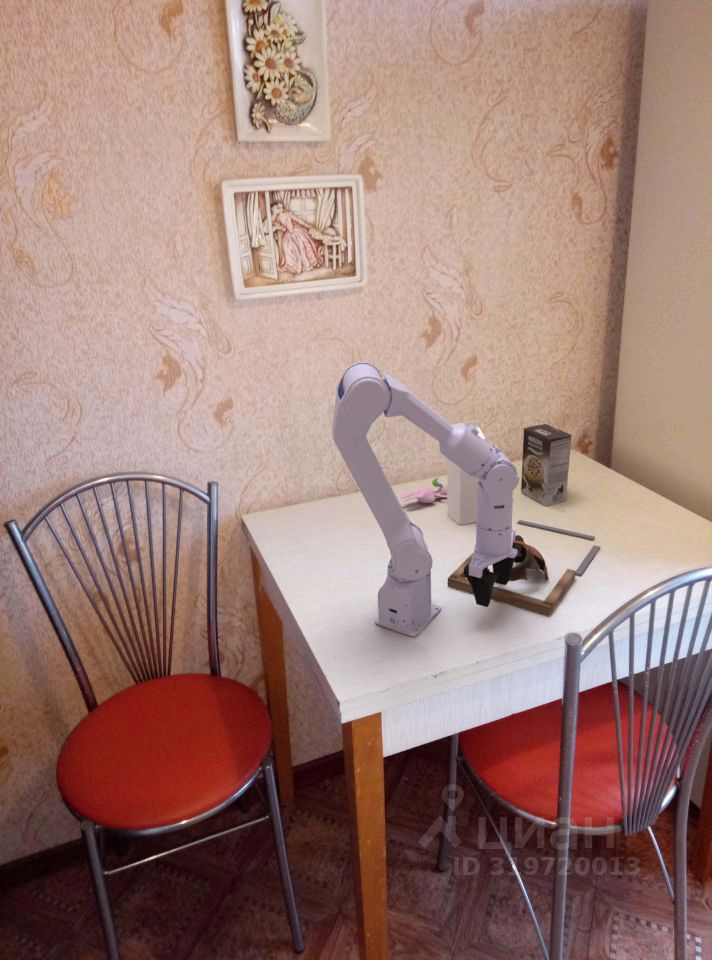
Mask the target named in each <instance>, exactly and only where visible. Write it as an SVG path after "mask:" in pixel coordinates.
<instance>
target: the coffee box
mask: <svg viewBox="0 0 712 960" xmlns="http://www.w3.org/2000/svg"><path fill="white" fill-rule="evenodd" d="M572 436H573V435H572V434H571V433H568V432H566V431H563V430H562V429H561V430H560V429H559V428H556V427H553V426H551V425H549V424H547V423H543V424H539V425H531V426H528V427H524V428H523V437H522V439H523V441H522V442H523V443H522V462H521V463H522V464H521V481H520V482H521V484H520V493H522V494H523V495H525V496H526V497H529V498H530V499H532V500H533V501H536V502H537V503H538V504H540V505H543V506H544V507H548V506H551V505H554V504H558V503H562V502H565V501H567V492H568V491H567V490H568V482H569V481H568V478H569V470H570V468H569V467H570V459H571V458H570V456H571V446H572V445H571V444H572Z"/></svg>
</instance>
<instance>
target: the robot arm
mask: <svg viewBox="0 0 712 960" xmlns="http://www.w3.org/2000/svg"><path fill="white" fill-rule="evenodd" d="M382 373H383V375H382V374H381V372H380V370H379V368H378V367H376V365H374V364H372V363H371V362H370V363H369V362H366V361H358V362H355V363H352V364H351V365H349V366H348V367H347V368H346V369H345V370H344V372H343V374H342V375H341V378H340V380H339V382H338V383H337V385H336V390H335V391H336V392H335V402H334V411H333V418H332V426H331V433H332V434H331V435H332V438H333V439H332V440H333V442H334V444H335V446H336V447H337V450H338V451H339V454H340V456H341V457H342V459H343V461H344V462H345V465H346V466H347V469H348V471H350V474H351V476H352V478H353V479H354V481H355V483H356V484H357V487H358V488H359V491H360V493H361V494H362V496H363V498H364V500H365V502H366V504H367V505H368V507H369V510H370V511H371V513H372V515H373V517H374V518H375V520H376V522H377V524H378V526H379V528H380V530H381V531H382V534H383V536H384V539H385V541H386V545H387V548H388V550H389V553H390V556H391V557H390V559H389V562H388V564H387V571H386V572H387V573H386V574H387V575H386V578H385V581H384V583H383V584H382V586H381V587H380V588H379V589H378V592H377V609H378V610H377V611H378V613H377V614H378V617H376V618H375V619H374V624H375V625H379V626H381V627H383V628H387V629H390V630H393V631H395V632H398V633H401V634H404V635H407V636H410V637H414V638H415V637H416V636H418V635H419V634H420V633H421V631H422V630H424V628H426V626H427V625H428V624H429V623H430V622H431V621H432V619H434V617H435V616H436V615H438V613H439V612H440V611H441V610H442V607H441V606H440V605H437V604H434V603H432V568H433V563H434V562H433V558H432V554H431V553H430V552H429V550H428V547H427V546H428V545H427V544H426V541H425V538H424V533H423V531H422V530H421V528H420V527H419V526H418V525H417V524H415V523H414V522H412V521H411V520H410V518H409V516H408V515H407V514H408V513H406V512H405V511H404V509H403V507H402V505H401V503H400V501H399V498H398V497H397V494H396V493H395V491H394V489H393V488H392V485H391V483H390V481H389V479H388V477H387V476H386V473H385V472H384V470H383V468H382V466H381V464H380V461H379V459H378V458H377V456H376V454H375V452H374V450H373V448H372V446H371V444H370V443H369V440H368V438H367V435H368V433H369V431H370V429H371V426H372V424H373V423H374V422H375V421H377V419H378V418H379V417H380V416H381V415H382V414H384V417H385V418H393V417H399V416H400V417H401V416H402V417H403V418H405V419H407V420H408V421H409V422H410V423H412V424H413V425H414V426H416V427H417V428H419V429H421V430H422V431H424V433H426V434H428V435H429V436H431V437H432V438H434V439H435V440H437V441H438V443H439V445H438V446H439V452H440V454H441V455H442V456H444V457H445V458H446V459H447V458H448V459H449V460H450V461H452V462H453V463H454V464H456V465H457V466H458V467H460V468H461V469H462V470H464V471H465V472H466V473H468V474H469V475H470V476H473V477H477V478H478V479H479V482H478V494H477V517H476V522H475V524H476V525H475V533H476V534H475V544H474V546H473V552H474V553H473V552H472V553H473V558H472V562H471V563H470V564H467V565H466V566H465V567H464V575H465V577H466V579H468V581H469V583H470V585H471V587H472V590H473V594H472V595H473V597H474V600H475V604H476V605H478V606H481V607H484V608H488V607H489V606H490V605H491V596H492V590H493V586H494V587H495V583H496V584H498V585H503V586H506V585H507V584H508V583H509V582H508V580H509V577H510V573H511V570H512V568H514V567H513V566H514V564H515V559H516V557H517V555H518V554H519V552H520V551H521V546H519V545H517V544H513V542H514V541H515V536H516V535H517V534H516V533H517V532H516V530H515V529H513V527H512V526H513V525H512V524H513V507H514V505H513V504H514V503H513V502H514V501H513V500H514V498H513V496H514V495H513V493H514V491H515V490H516V489H517V487H518V485H519V482H520V479H521V478H520V476H519V475H518V471H517V468H516V466H515V465H514V463H512V461H511V460H510V459H509V458H508V456H506V454H505V453H504V452H503V451H502V450H501V449H500V447H499V446H498V445H496V444H493V445H491V444H490V443H488V441H487V440H486V441H485V440H484V439H482V438H481V437H480V436H479V435H477V434H478V433H479V431H478V430H477V429H476V428H475V427H474V426H472V425H471V426H470V427H469V428H468V427H467V426H466V425H465V424H460V423H455V424H451V423H449V422H448V421H447V420H446V419H445V418H444V417H442V415H440V414H439V412H437V411H436V410H435V409H433V408H432V407H431V406H429V405H428V404H427V402H425V401H424V400H422V399H421V398H420V397H419V396H418V395H417V394H415V393H414V392H413V391H411V390H410V389H409V388H408V387H407V386H405V385H404V384H403V383H401V382H400V381H398V380H397V379H396V378H394V377H393V376H391V375H389V374H387V373H386V372H384V371H383V372H382ZM383 376H384V379H383ZM490 566H492V571H490V570H491V569H490V568H489V567H490Z"/></svg>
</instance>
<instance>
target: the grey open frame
mask: <svg viewBox="0 0 712 960" xmlns="http://www.w3.org/2000/svg"><path fill="white" fill-rule="evenodd" d="M516 523H517V524H518V525H521V526H525V527H531V528H535V529H538V530H543V531H548V532H551V533H552V532H553V533H557V534H561V535H566V536H570V537H575V538H578V539H579V538H580V539H583V540H588V541H594V540H595V536H594V535H589V534H584V533H581V532H577V531H572V530H567V529H564V528H558V527H554V526H548V525H544V524H540V523H536V522H530V521H527V520H522V519H519V520H518V521H517V522H516ZM600 549H601V546H599V545H597V544H596V545H595V544H593V546H592V547H591V549H590V550H589V552H588V553H587V555H586V556H585V557H584V559H583V560H582V562H581V563H580V564H579V565H578V566H577V568H576V570H575V571H576V573H575V576H577V577H582V575H583V574H584V572H585V571H586V570H587V568H588V567H589V565H590V564H591V562H592V560H593V559H594V558H595V556H596V555H597V554H598V552H599V551H600Z"/></svg>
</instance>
